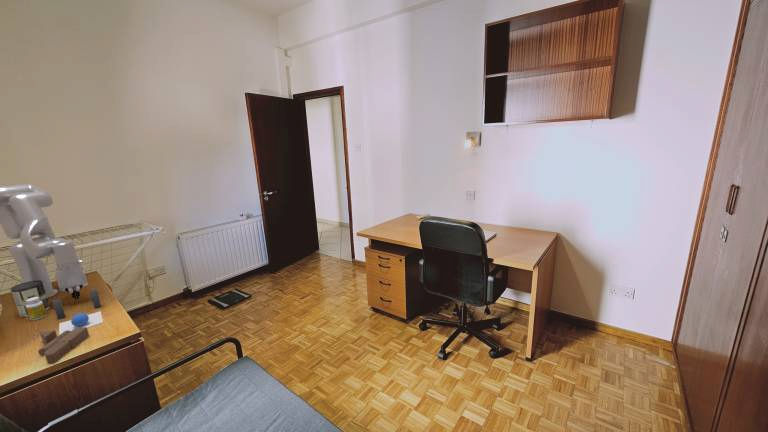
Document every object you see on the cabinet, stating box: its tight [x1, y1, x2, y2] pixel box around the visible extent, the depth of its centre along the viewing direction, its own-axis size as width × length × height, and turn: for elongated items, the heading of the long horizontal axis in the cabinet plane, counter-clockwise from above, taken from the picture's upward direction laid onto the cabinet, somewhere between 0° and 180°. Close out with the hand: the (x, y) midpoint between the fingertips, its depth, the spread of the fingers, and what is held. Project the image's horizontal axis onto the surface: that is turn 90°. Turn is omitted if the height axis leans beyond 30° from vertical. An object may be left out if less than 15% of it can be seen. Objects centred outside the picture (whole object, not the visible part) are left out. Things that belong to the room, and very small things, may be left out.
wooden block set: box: [38, 327, 90, 364], centre depth 120 cm, size 17×6×18 cm
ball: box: [70, 312, 89, 327], centre depth 137 cm, size 6×6×6 cm
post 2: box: [89, 289, 102, 309], centre depth 152 cm, size 3×3×9 cm
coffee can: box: [9, 280, 51, 317], centre depth 149 cm, size 10×10×14 cm
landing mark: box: [58, 310, 104, 336], centre depth 139 cm, size 14×14×1 cm
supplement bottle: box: [26, 297, 47, 321], centre depth 143 cm, size 5×5×10 cm
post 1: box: [51, 298, 66, 320], centre depth 143 cm, size 3×3×9 cm
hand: (76, 298), depth 157 cm, fingers closed
